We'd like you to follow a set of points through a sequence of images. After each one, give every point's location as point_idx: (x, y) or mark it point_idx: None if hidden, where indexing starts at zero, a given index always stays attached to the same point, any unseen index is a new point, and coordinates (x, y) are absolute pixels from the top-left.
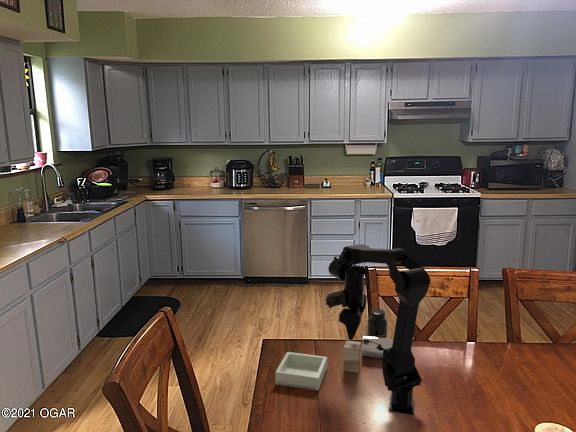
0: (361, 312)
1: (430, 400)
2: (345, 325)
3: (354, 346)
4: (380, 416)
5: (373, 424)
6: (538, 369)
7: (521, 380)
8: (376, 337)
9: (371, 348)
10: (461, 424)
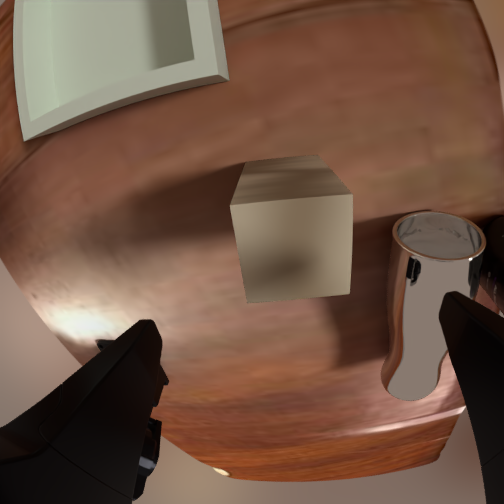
0: (487, 463)
1: (195, 402)
2: (3, 428)
3: (271, 272)
4: (70, 324)
5: (42, 312)
6: (367, 466)
7: (331, 464)
8: None
9: (397, 289)
10: None
